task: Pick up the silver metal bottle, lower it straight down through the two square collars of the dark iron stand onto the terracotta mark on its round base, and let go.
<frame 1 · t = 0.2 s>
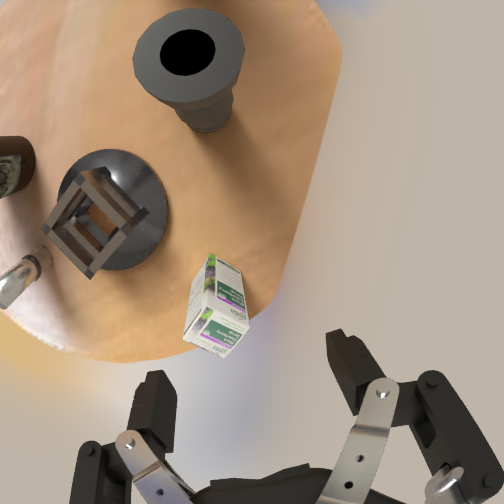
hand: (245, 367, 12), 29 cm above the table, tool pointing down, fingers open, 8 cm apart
olive oil: (17, 163, 32), on the table
syrup box: (216, 275, 43), on the table
collar stand: (110, 210, 37), on the table
candle holder: (207, 111, 34), on the table
silver metal bottle: (43, 257, 38), on the table
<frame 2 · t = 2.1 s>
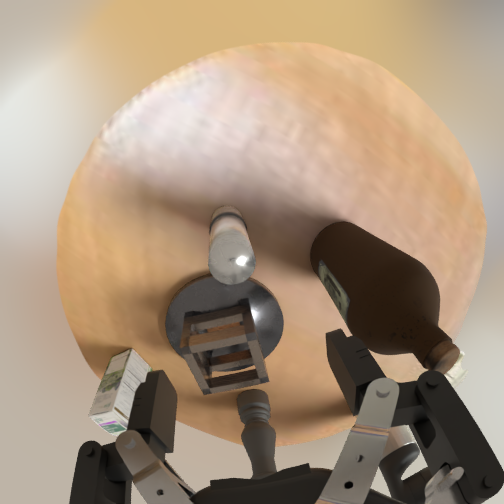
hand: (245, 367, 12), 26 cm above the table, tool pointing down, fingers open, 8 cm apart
olive oil: (338, 251, 40), on the table
syrup box: (131, 361, 44), on the table
collar stand: (224, 324, 42), on the table
candle holder: (252, 398, 50), on the table
silver metal bottle: (227, 220, 37), on the table
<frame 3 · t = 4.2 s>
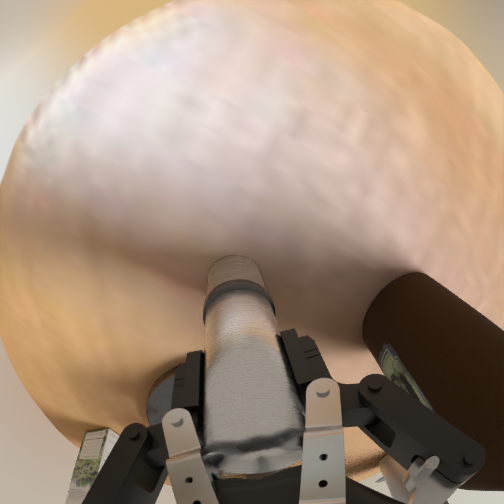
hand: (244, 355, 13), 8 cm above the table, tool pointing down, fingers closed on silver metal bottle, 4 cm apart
olive oil: (400, 313, 25), on the table
syrup box: (110, 438, 28), on the table
collar stand: (230, 412, 27), on the table
candle holder: (264, 470, 34), on the table
silver metal bottle: (234, 280, 21), on the table, touching gripper
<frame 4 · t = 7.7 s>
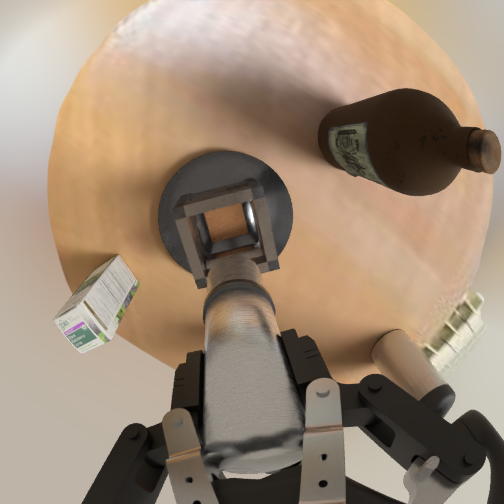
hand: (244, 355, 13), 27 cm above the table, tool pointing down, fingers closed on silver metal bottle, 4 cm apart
olive oil: (346, 138, 36), on the table
syrup box: (116, 275, 39), on the table
collar stand: (225, 217, 38), on the table
silver metal bottle: (234, 279, 21), point 19 cm above the table, touching gripper
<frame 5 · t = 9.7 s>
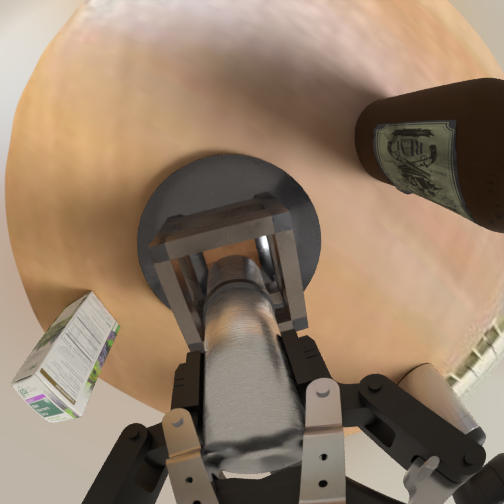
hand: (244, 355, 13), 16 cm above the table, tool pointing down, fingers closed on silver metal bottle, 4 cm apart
olive oil: (389, 141, 26), on the table
syrup box: (92, 315, 29), on the table
collar stand: (229, 245, 28), on the table
silver metal bottle: (234, 279, 21), point 8 cm above the table, touching gripper
when the fingers open (11 cm above the table, at t = 11.2 s): silver metal bottle drops 1 cm, resting on collar stand.
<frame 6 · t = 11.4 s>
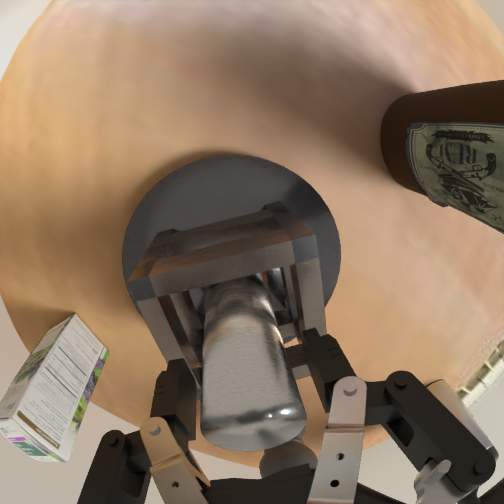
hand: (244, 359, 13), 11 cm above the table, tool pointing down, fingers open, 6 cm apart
olive oil: (416, 142, 21), on the table
syrup box: (77, 338, 25), on the table
collar stand: (232, 265, 23), on the table
candle holder: (273, 402, 31), on the table
silver metal bottle: (234, 273, 22), point 2 cm above the table, touching collar stand
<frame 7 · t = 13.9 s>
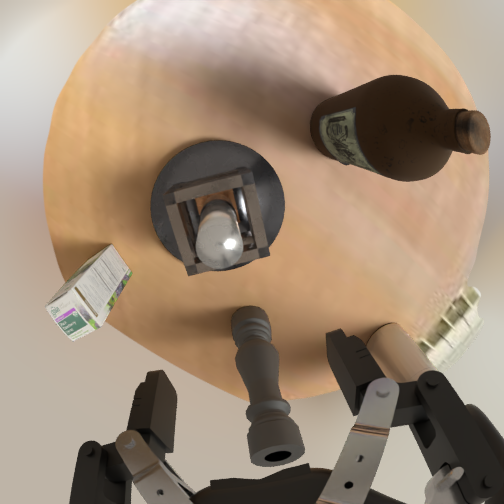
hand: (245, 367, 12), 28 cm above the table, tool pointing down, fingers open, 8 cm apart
olive oil: (339, 128, 36), on the table
syrup box: (109, 265, 39), on the table
collar stand: (217, 206, 38), on the table
candle holder: (249, 320, 46), on the table
silver metal bottle: (218, 209, 36), point 2 cm above the table, touching collar stand
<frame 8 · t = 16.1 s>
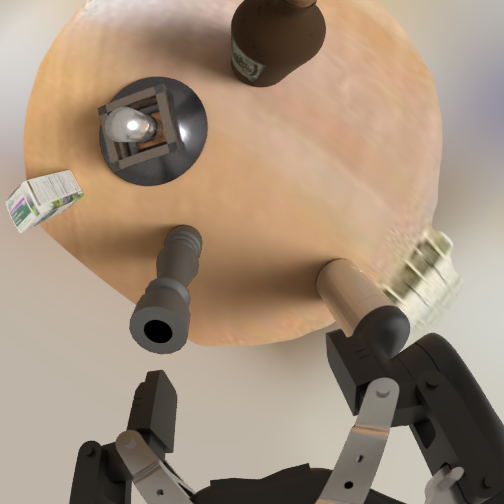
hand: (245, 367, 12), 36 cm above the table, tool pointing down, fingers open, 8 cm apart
olive oil: (259, 62, 38), on the table
syrup box: (67, 189, 41), on the table
collar stand: (152, 130, 40), on the table
candle holder: (184, 241, 48), on the table
silver metal bottle: (150, 130, 38), point 2 cm above the table, touching collar stand
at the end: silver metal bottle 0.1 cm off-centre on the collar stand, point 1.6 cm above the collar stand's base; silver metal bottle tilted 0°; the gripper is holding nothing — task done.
